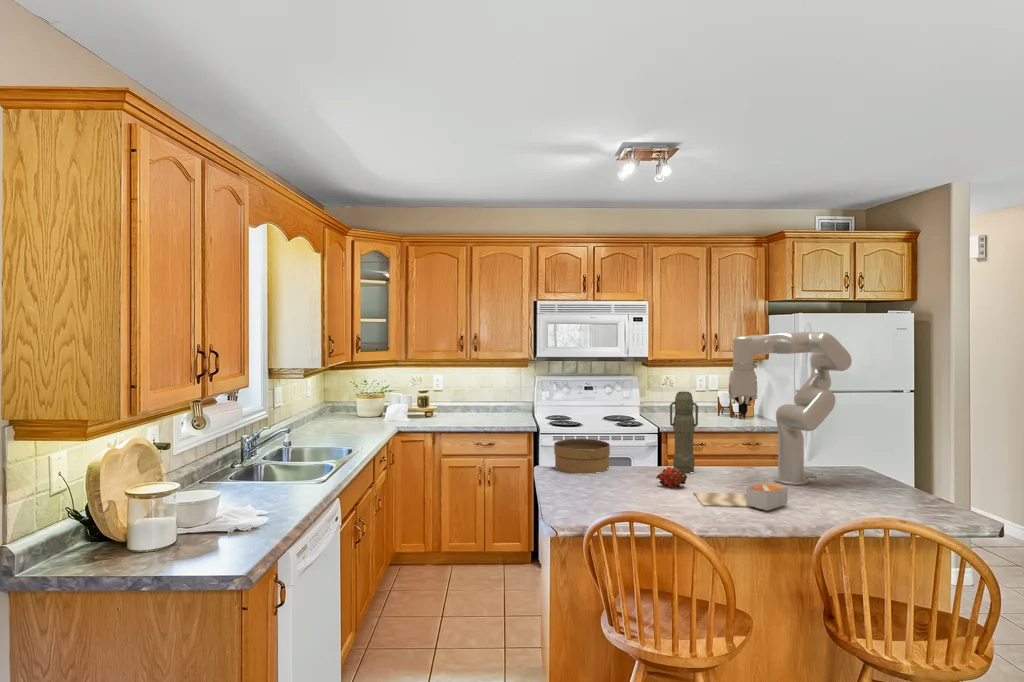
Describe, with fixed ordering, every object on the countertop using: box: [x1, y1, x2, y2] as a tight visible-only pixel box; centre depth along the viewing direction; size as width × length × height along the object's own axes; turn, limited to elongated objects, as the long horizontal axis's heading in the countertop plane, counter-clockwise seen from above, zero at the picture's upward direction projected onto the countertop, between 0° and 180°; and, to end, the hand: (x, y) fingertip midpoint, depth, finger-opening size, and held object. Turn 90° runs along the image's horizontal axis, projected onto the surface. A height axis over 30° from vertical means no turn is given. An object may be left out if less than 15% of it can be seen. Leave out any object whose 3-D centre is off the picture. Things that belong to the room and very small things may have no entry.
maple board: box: [693, 491, 752, 508], centre depth 219 cm, size 24×16×1 cm, turn 85°
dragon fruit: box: [655, 466, 688, 489], centre depth 239 cm, size 8×8×12 cm
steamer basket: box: [553, 438, 611, 474], centre depth 273 cm, size 25×25×11 cm
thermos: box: [669, 391, 699, 474], centre depth 265 cm, size 9×12×35 cm
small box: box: [746, 481, 789, 511], centre depth 212 cm, size 8×6×13 cm
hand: (742, 413), depth 238 cm, fingers closed
